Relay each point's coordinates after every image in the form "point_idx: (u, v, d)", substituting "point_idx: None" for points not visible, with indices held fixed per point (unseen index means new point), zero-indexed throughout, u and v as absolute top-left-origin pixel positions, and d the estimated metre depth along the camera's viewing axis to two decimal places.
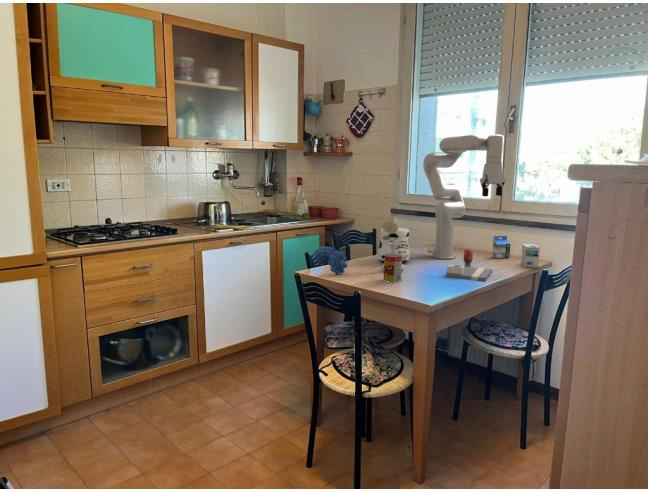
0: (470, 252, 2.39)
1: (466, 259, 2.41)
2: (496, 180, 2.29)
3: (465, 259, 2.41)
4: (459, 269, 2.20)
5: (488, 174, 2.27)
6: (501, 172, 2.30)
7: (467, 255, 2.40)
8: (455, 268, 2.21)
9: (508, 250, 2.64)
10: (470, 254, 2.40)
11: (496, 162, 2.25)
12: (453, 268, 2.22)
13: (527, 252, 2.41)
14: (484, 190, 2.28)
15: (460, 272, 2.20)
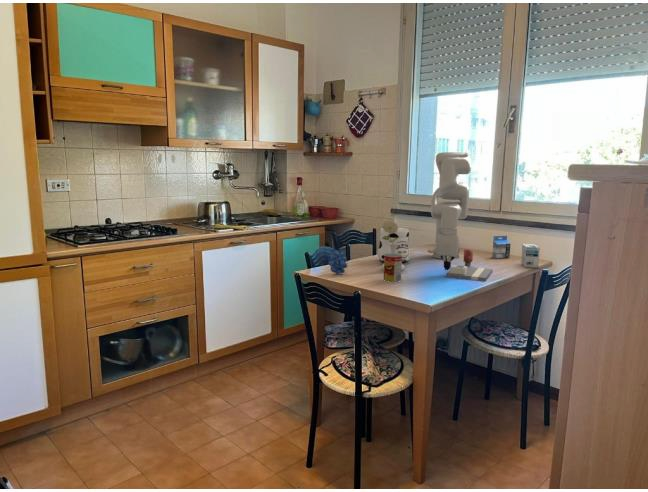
0: (470, 252, 2.39)
1: (466, 259, 2.41)
2: None
3: (465, 259, 2.41)
4: (462, 269, 2.20)
5: None
6: None
7: (467, 255, 2.40)
8: (458, 268, 2.21)
9: (508, 250, 2.64)
10: (470, 254, 2.40)
11: None
12: (456, 268, 2.21)
13: (527, 252, 2.41)
14: (450, 263, 2.25)
15: (463, 272, 2.20)
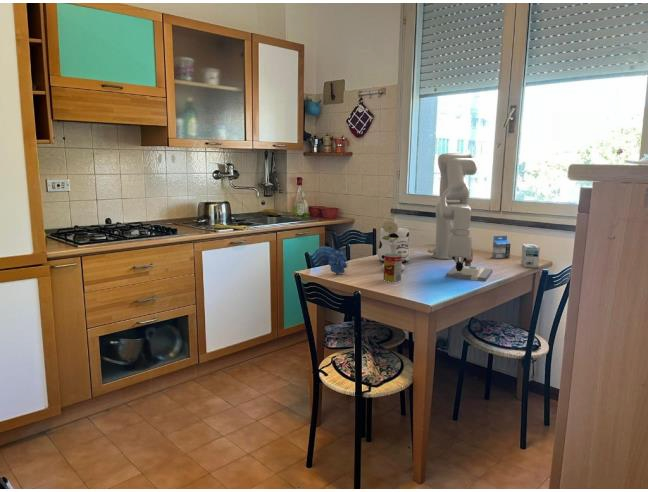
0: None
1: None
2: None
3: None
4: (475, 271, 2.17)
5: (471, 246, 2.20)
6: None
7: None
8: (470, 270, 2.18)
9: (508, 250, 2.64)
10: None
11: None
12: (468, 270, 2.18)
13: (527, 252, 2.41)
14: (462, 265, 2.22)
15: (476, 274, 2.17)
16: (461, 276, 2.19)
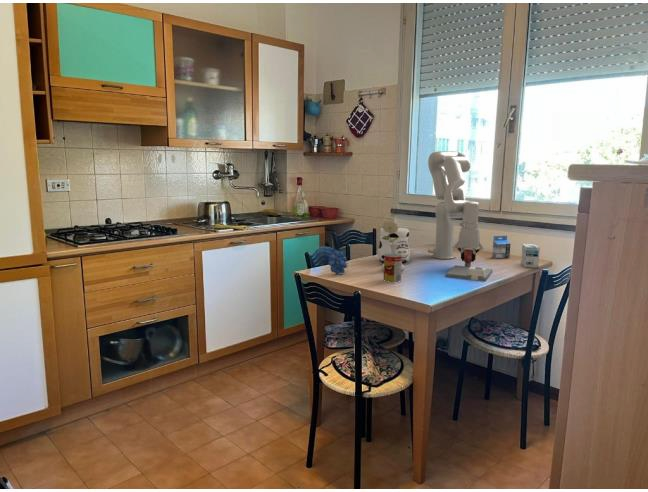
0: (470, 252, 2.39)
1: (466, 259, 2.40)
2: None
3: (465, 259, 2.41)
4: (481, 271, 2.16)
5: (479, 238, 2.39)
6: None
7: (467, 255, 2.40)
8: (477, 270, 2.17)
9: (508, 250, 2.64)
10: (470, 254, 2.40)
11: None
12: (475, 270, 2.17)
13: (527, 252, 2.41)
14: (475, 256, 2.40)
15: (482, 274, 2.16)
16: (461, 276, 2.19)
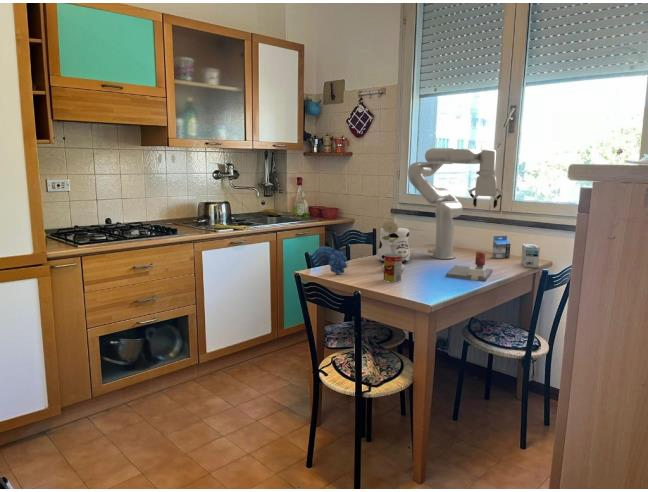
0: (482, 255, 2.25)
1: (478, 262, 2.26)
2: None
3: (477, 262, 2.27)
4: (481, 271, 2.16)
5: (496, 186, 2.42)
6: None
7: (479, 258, 2.26)
8: (477, 270, 2.17)
9: (508, 250, 2.64)
10: (482, 257, 2.25)
11: None
12: (475, 270, 2.17)
13: (527, 252, 2.41)
14: None
15: (482, 274, 2.16)
16: (461, 276, 2.19)
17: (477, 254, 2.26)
